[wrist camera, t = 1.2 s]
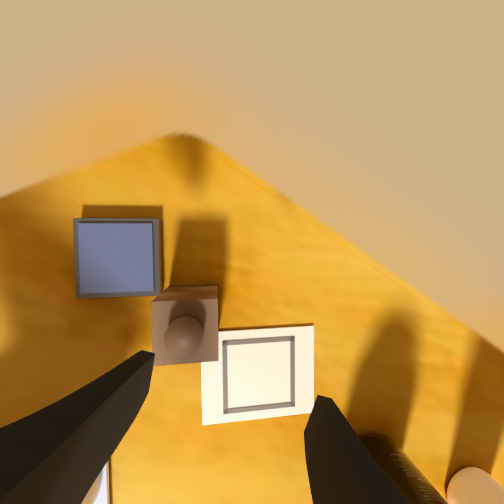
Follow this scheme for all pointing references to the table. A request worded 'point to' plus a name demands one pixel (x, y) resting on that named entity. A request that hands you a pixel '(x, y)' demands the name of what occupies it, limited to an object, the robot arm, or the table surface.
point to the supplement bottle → (401, 471)
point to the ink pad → (117, 257)
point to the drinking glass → (474, 488)
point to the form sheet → (259, 375)
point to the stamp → (185, 325)
